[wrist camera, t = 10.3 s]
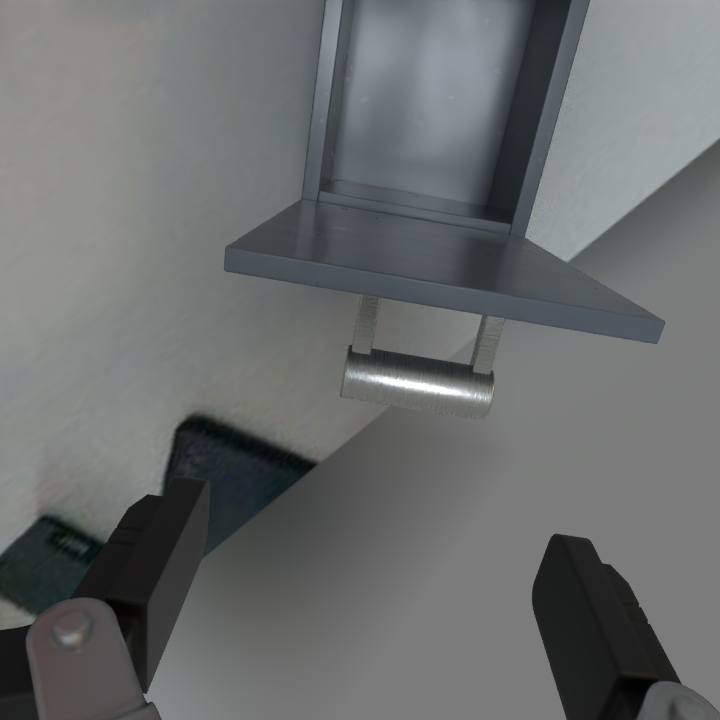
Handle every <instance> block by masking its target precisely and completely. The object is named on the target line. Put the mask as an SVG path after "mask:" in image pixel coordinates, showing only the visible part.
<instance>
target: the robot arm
mask: <svg viewBox="0 0 720 720" xmlns="http://www.w3.org/2000/svg"><path fill="white" fill-rule="evenodd" d="M209 496H210V482H209V480H204V479H197V478H191V477H184V476H175V477H174V479H173V481H172V482H171V484H170V486H169V487H168V489H167V491H166V493H165V494H164V496H163V497H162V496H155V495H149V494H147V495H146V496H145V497H143V498H142V499H140V500H139V501H138V502H136V503H135V504H133V505H132V506H131V507H129V508H128V510H127V511H126V513H125V514H124V516H123V517H122V519H121V521H120V522H119V524H118V526H117V529H116V528H115V530H114V531H113V533H112V534H111V536H110V538H109V539H108V543H106V544H105V545H104V547H103V548H102V550H101V551H100V553H99V554H98V556H97V558H96V559H95V561H94V562H93V564H92V565H91V567H90V568H89V570H88V571H87V573H86V574H85V576H84V578H83V579H82V581H81V582H80V584H79V585H78V587H77V588H76V590H75V591H74V593H73V594H72V596H71V597H70V599H69V600H66V601H63V602H60V603H58V604H56V605H54V606H52V607H50V608H49V609H47V610H46V611H44V612H43V613H42V614H41V615H40V616H38V617H37V619H36V620H35V621H34V622H33V623H32V624H30V625H27V626H23V627H19V628H13V629H6V630H0V720H161V717H160V715H159V712H158V710H157V708H156V706H155V705H154V703H153V702H149V703H147V702H146V700H145V698H144V695H143V693H145V694H147V691H148V689H149V686H150V684H151V682H152V679H153V677H154V674H155V672H156V669H157V667H158V664H159V662H160V660H161V657H162V655H163V652H164V650H165V647H166V645H167V642H168V640H169V638H170V635H171V633H172V630H173V628H174V625H175V623H176V621H177V618H178V616H179V613H180V611H181V608H182V606H183V603H184V601H185V598H186V596H187V594H188V591H189V588H190V586H191V584H192V581H193V579H194V576H195V574H196V572H197V569H198V567H199V564H200V562H201V559H202V556H203V553H204V549H205V544H206V539H207V530H208V513H209ZM532 605H533V611H534V614H535V617H536V621H537V624H538V627H539V630H540V634H541V637H542V640H543V644H544V647H545V650H546V653H547V657H548V659H549V663H550V666H551V670H552V673H553V676H554V679H555V683H556V686H557V689H558V692H559V696H560V699H561V702H562V705H563V709H564V712H565V715H566V719H567V720H720V713H719V712H718V711H717V710H716V708H715V707H714V706H713V705H712V704H711V703H710V702H709V701H707V700H706V699H705V698H704V697H702V696H701V695H700V694H698V693H697V692H695V691H694V690H692V689H690V688H688V687H686V686H684V685H682V684H681V682H680V680H679V678H678V676H677V674H676V672H675V670H674V669H673V667H672V665H671V663H670V661H669V659H668V657H667V655H666V654H665V652H664V650H663V648H662V646H661V644H660V642H659V640H658V639H657V636H656V635H655V633H654V631H653V629H652V627H651V625H650V624H648V622H647V621H648V619H647V618H646V616H645V614H644V612H643V610H642V608H641V607H639V603H638V601H637V599H636V597H635V595H634V593H633V591H632V589H631V587H630V586H629V584H628V582H627V581H626V580H625V579H624V578H623V577H622V576H621V575H620V574H619V573H618V572H617V571H616V570H615V569H614V568H613V567H612V566H611V565H608V564H602V562H601V560H600V559H599V556H598V554H597V552H596V550H595V548H594V546H593V544H592V542H591V541H590V540H589V539H587V538H581V537H574V536H568V535H561V534H554V535H553V536H552V537H551V539H550V541H549V543H548V546H547V549H546V551H545V554H544V557H543V560H542V562H541V565H540V568H539V570H538V573H537V576H536V578H535V581H534V584H533V590H532Z"/></svg>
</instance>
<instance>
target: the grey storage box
mask: <svg viewBox="0 0 720 720" xmlns="http://www.w3.org/2000/svg"><path fill="white" fill-rule="evenodd" d="M589 2H590V0H325V6H324V14H323V23H322V31H321V39H320V48H319V56H318V64H317V73H316V81H315V90H314V98H313V106H312V115H311V123H310V131H309V140H308V148H307V156H306V165H305V173H304V182H303V190H302V198H301V199H303V200H309V201H315V202H320V203H326V204H332V205H338V206H343V207H349V208H355V209H361V210H366V211H372V212H378V213H384V214H389V215H395V216H401V217H407V218H412V219H418V220H424V221H430V222H435V223H441V224H447V225H453V226H458V227H464V228H470V229H476V230H481V231H487V232H493V233H499V234H504V235H510V236H516V237H522V238H524V237H525V233H526V230H527V226H528V223H529V219H530V215H531V212H532V208H533V205H534V201H535V197H536V194H537V190H538V187H539V183H540V179H541V176H542V172H543V168H544V165H545V161H546V158H547V154H548V150H549V147H550V143H551V140H552V136H553V132H554V129H555V125H556V122H557V118H558V114H559V111H560V107H561V103H562V100H563V96H564V93H565V89H566V85H567V82H568V78H569V75H570V71H571V67H572V64H573V60H574V57H575V53H576V49H577V46H578V42H579V38H580V35H581V31H582V28H583V24H584V20H585V17H586V13H587V10H588V6H589Z"/></svg>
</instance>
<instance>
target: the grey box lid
mask: <svg viewBox="0 0 720 720" xmlns="http://www.w3.org/2000/svg"><path fill="white" fill-rule="evenodd" d="M224 270H225V271H227V272H233V273H239V274H245V275H251V276H256V277H262V278H268V279H274V280H280V281H286V282H292V283H298V284H304V285H310V286H316V287H321V288H327V289H333V290H339V291H345V292H351V293H357V294H361V298H360V303H359V309H358V315H357V321H356V327H355V333H354V339H353V345H349V346H348V350H347V356H346V362H345V368H344V374H343V380H342V386H341V392H340V397H343V398H349V399H355V400H361V401H367V402H373V403H379V404H385V405H391V406H398V407H404V408H410V409H416V410H422V411H428V412H435V413H440V414H447V415H453V416H460V417H465V418H471V419H477V420H484V419H485V418H486V417H487V415H488V413H489V411H490V408H491V405H492V401H493V396H494V387H495V379H494V373H493V370H492V366H493V362H494V359H495V355H496V351H497V347H498V344H499V340H500V336H501V332H502V329H503V325H504V321H505V319H511V320H516V321H522V322H528V323H534V324H540V325H546V326H552V327H558V328H564V329H570V330H575V331H582V332H587V333H593V334H599V335H605V336H611V337H617V338H623V339H629V340H635V341H640V342H646V343H653V344H657V343H658V341H659V338H660V336H661V333H662V330H663V328H664V325H665V321H664V320H662V319H660V318H659V317H657V316H655V315H654V314H652V313H650V312H648V311H647V310H645V309H644V308H642V307H640V306H639V305H637V304H635V303H634V302H632V301H630V300H629V299H627V298H625V297H623V296H622V295H620V294H618V293H617V292H615V291H613V290H612V289H610V288H608V287H607V286H605V285H603V284H601V283H600V282H598V281H597V280H594V279H593V278H591V277H590V276H588V275H587V274H585V273H583V272H581V271H580V270H578V269H577V268H575V267H573V266H571V265H570V264H568V263H566V262H565V261H563V260H561V259H560V258H558V257H556V256H555V255H553V254H551V253H550V252H548V251H546V250H545V249H543V248H541V247H540V246H538V245H536V244H535V243H533V242H531V241H530V240H528V239H526V238H522V237H516V236H510V235H504V234H499V233H493V232H487V231H481V230H476V229H470V228H464V227H458V226H453V225H447V224H441V223H435V222H430V221H424V220H418V219H412V218H407V217H401V216H395V215H389V214H384V213H378V212H372V211H366V210H361V209H355V208H349V207H343V206H338V205H332V204H326V203H320V202H315V201H309V200H303V199H301V200H299V201H297V202H296V203H294V204H293V205H291V206H290V207H288V208H286V209H285V210H283V211H282V212H280V213H278V214H277V215H275V216H274V217H272V218H271V219H269V220H267V221H266V222H264V223H263V224H261V225H260V226H258V227H256V228H255V229H253V230H252V231H250V232H248V233H247V234H245V235H244V236H242V237H241V238H239V239H237V240H236V241H234V242H233V243H231V244H230V245H228V246H226V248H225V261H224ZM381 298H386V299H392V300H398V301H404V302H410V303H416V304H422V305H428V306H434V307H440V308H446V309H451V310H457V311H463V312H469V313H475V314H481V315H482V319H481V323H480V327H479V331H478V335H477V338H476V342H475V347H474V350H473V354H472V358H471V362H470V365H467V364H461V363H455V362H449V361H443V360H437V359H431V358H425V357H419V356H413V355H407V354H401V353H395V352H389V351H383V350H377V349H371V348H372V343H373V337H374V332H375V326H376V321H377V315H378V310H379V304H380V299H381Z"/></svg>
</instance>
